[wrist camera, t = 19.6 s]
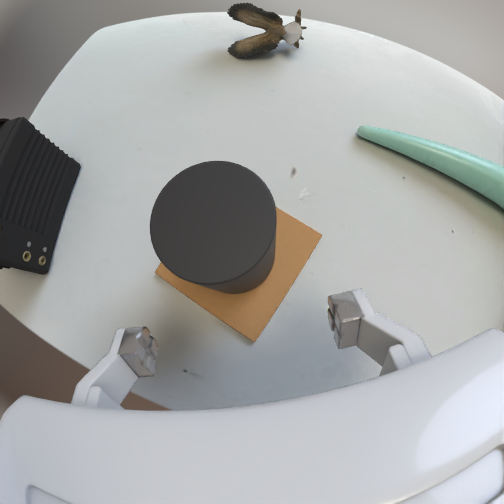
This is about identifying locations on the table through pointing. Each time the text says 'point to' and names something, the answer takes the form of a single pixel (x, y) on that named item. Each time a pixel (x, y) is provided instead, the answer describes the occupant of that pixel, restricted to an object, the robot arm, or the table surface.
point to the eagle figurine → (269, 24)
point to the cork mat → (265, 295)
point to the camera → (31, 195)
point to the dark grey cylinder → (216, 227)
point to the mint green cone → (444, 160)
